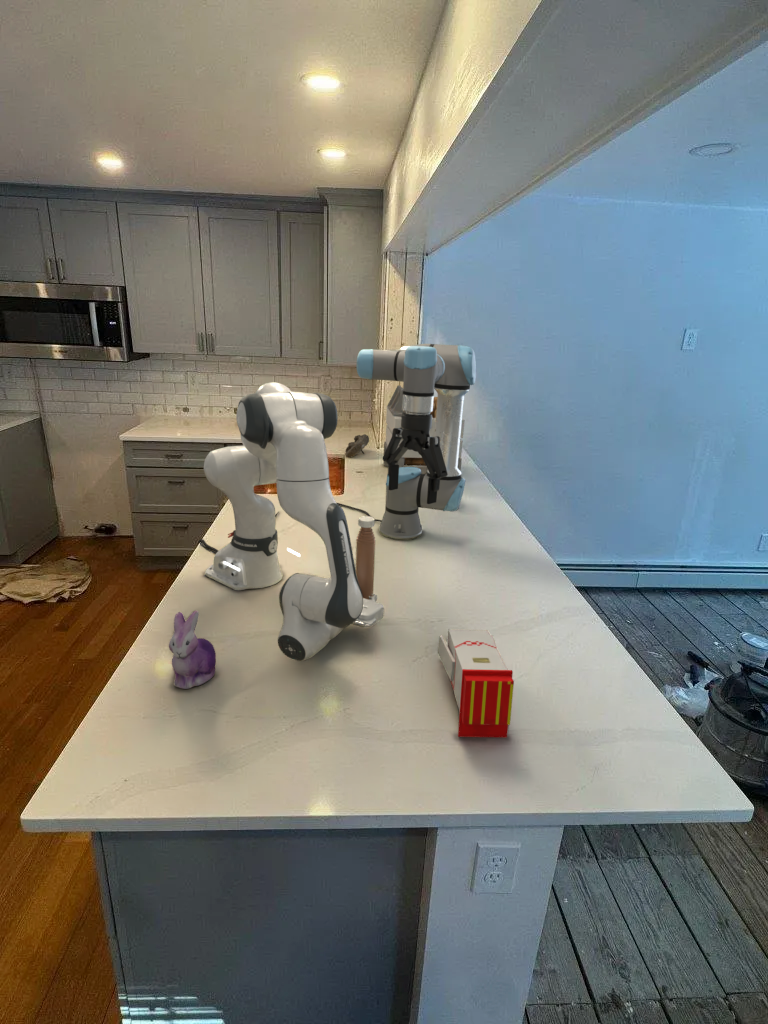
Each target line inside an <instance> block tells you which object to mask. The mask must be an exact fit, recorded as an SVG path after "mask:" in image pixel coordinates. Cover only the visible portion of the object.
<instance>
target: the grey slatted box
mask: <svg viewBox="0 0 768 1024" xmlns="http://www.w3.org/2000/svg"><path fill="white" fill-rule="evenodd" d="M402 399H403V386H402V385H399V384H398V385H397V386H396V388H395V390H394V392H393V394H392V395H391V398H390V400H389V402H388V404H387V405H386V413H385V414H386V415H385V423H386V428H385V438H384V442H383V454H384V453H385V451H386V449H387V447H388V444H389V442H390V440H391V438H392V433H393V429H394V428H400V427H401V416H402V413H403V412H404V411H403V410H402ZM436 409H437V396H434V399H433V411H432V412H431V413H430V414H432V428H431V429H430V431H429V435H430V437H434V434H435V421H436ZM464 429H465V419H464V418H462V425H461V435H460V446H459V457H458V469H459V470H460V471H461V472H462V461H463V460H462V453H463V442H464V441H463V440H462V439H463V438H464V431H465V430H464ZM402 441H403V438H401V441H400V443H401V442H402ZM400 443H399V444H400ZM398 447H399V445H398ZM398 447H397V448H398ZM424 449H425V448H424ZM396 450H397V449H396ZM397 464H398V465H399V468H401V467H405V466H406V467H417V466H418V467H426V464H425V462H424V460H423V458H422V456H421V455H420V454H419V453H418V452H416V451H413V450H407V451H406V452H405V454H404V455H403V456H402V457H401V458H400V460H399V461H398V462H397ZM395 465H396V464H395ZM383 466H384V467H387V468H388V464H387V462H386V461H383Z"/></svg>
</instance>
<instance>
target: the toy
mask: <svg viewBox="0 0 768 1024" xmlns="http://www.w3.org/2000/svg"><path fill="white" fill-rule="evenodd" d="M446 640H447V643H446V641H445V639H444V636H443V635H442V634H439V637H438V646H437V656H438V657H439V659H440V661H441V663H442V666H443V668H444V670H445V672H446V674H447V677H448V679H449V681H450V684H451V687H452V690H453V693H454V697H455V701H456V705H457V708H458V711H459V714H458V715H459V716H458V730H457V731H458V732H457V737H458V738H508V731H509V726H510V725H511V717H512V707H513V697H514V696H513V695H514V684H515V680H514V679H513V673H514V671H513V670H512V669H508V667H507V665H506V662H505V661H504V659H503V658H502V655H501V653H500V651H499V649H498V647H497V643H496V639H495V637H494V635H493V634H491V632H490V631H489V629H467V628H466V629H465V628H463V629H461V628H460V629H459V628H448V630H447V639H446Z"/></svg>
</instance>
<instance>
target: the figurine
mask: <svg viewBox="0 0 768 1024" xmlns="http://www.w3.org/2000/svg"><path fill="white" fill-rule="evenodd" d="M199 616H200V615H199V611H198V610H194V611H192V612H191V614H189V616H188V618H187V619H185V615H184V614H183V612H181V611H178V612H177V613H175V615H174V618H173V629H174V631H173V634H172V636H171V638H170V639H169V642H168V649H169V650H170V652H171V653H172V654H173V655H172V658H171V666H172V669H173V672H174V681H173V685H174V686H175V687H176V688H179V689H183V690H185V689H192V688H193V687H198V686H201V685H203V684H205V683H207V682H209V681H210V680H211V679H212V678H214V676H215V674H216V666H217V665H216V664H217V652H216V649H215V647H214V645H213V643H212V642H211V641H210V640H208V639H206V638H201V637H197V634H196V632H195V631H196V629H197V624H198V621H199Z"/></svg>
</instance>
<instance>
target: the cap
mask: <svg viewBox="0 0 768 1024" xmlns="http://www.w3.org/2000/svg"><path fill="white" fill-rule="evenodd" d="M370 516H371V515H370ZM370 516H368V515H363V516H360V517H358V521H357V522H358V523H357V524H358V527H360V528H361V527H364V528H370V527H372V528H373V527H375V524H376V523H375V522H376V521H375V520H374V519H375V518H374V517H373V516H371V517H370Z"/></svg>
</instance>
